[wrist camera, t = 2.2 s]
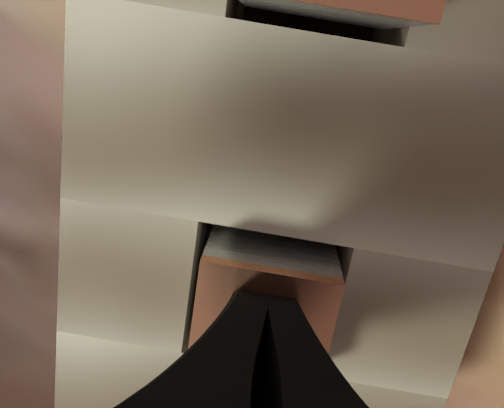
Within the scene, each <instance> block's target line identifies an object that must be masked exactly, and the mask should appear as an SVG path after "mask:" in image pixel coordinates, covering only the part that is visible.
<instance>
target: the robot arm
mask: <svg viewBox="0 0 504 408" xmlns="http://www.w3.org/2000/svg"><path fill="white" fill-rule="evenodd" d="M113 408H369V407H368V406H367V405H366V404H365V402H364V401H363V400H362V399H361V398H360V397H359V395H358V394H357V393H356V392H355V390H354V389H353V388H352V387H351V385H350V384H349V383H348V381H347V380H346V379H345V377H344V376H343V375H342V373H341V372H340V371H339V369H338V368H337V366H336V365H335V363H334V362H333V360H332V359H331V357H330V356H329V354H328V353H327V351H326V350H325V348H324V347H323V345H322V344H321V342H320V340H319V339H318V337H317V335H316V334H315V332H314V330H313V329H312V327H311V325H310V323H309V322H308V320H307V318H306V316H305V314H304V312H303V311H302V309H301V307H300V305H299V303H298V302H297V300H296V299H294V298H288V297H283V296H277V295H271V294H265V293H259V292H253V291H248V290H242V289H238V290H236V291H235V292H233V293H232V296H231V298H230V300H229V301H228V303H227V304H226V306H225V307H224V309H223V310H222V312H221V313H220V314H219V316H218V317H217V318H216V319H215V320H214V322H213V323H212V324H211V325H210V326H209V327H208V329H207V330H206V331H205V332H204V333H203V334H202V336H201V337H200V338H199V339H198V340H197V341H196V342H195V343H194V344H193V345H192V346H191V347H190V348H189V349H188V350H187V351H186V352H185V353H184V354H182V355H181V356H180V357H179V358H178V359H177V360H176V361H175V362H174V363H173V364H172V365H170V366H169V367H168V368H167V369H166V370H165V371H163V372H162V373H161V374H160V375H158V376H157V377H156V378H155V379H153V380H152V381H151V382H149V383H148V384H147V385H145V386H144V387H143V388H141V389H140V390H138V391H137V392H135V393H134V394H133V395H131V396H130V397H128V398H127V399H125V400H124V401H122V402H121V403H120V404H118V405H116V406H115V407H113Z"/></svg>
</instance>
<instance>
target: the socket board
mask: <svg viewBox="0 0 504 408" xmlns="http://www.w3.org/2000/svg"><path fill="white" fill-rule="evenodd" d="M243 11H244V5H243V4H242V3H241V2H240V1H239V0H66V16H65V52H64V88H63V124H62V160H61V196H60V232H59V268H58V304H57V340H56V376H55V408H113V407H115V406H116V405H118V404H120V403H121V402H122V401H124V400H125V399H127V398H128V397H130V396H131V395H133V394H134V393H135V392H137V391H138V390H140V389H141V388H143V387H144V386H145V385H147V384H148V383H149V382H151V381H152V380H153V379H155V378H156V377H157V376H158V375H160V374H161V373H162V372H163V371H165V370H166V369H167V368H168V367H169V366H170V365H172V364H173V363H174V362H175V361H176V360H177V359H178V358H179V357H180V356H181V355H182V354H184V353H185V352H186V351H187V350H188V346H189V338H190V331H191V323H192V316H193V309H194V301H195V294H196V286H197V279H198V272H199V264H200V259H201V257H202V254H203V252H204V249H205V246H206V244H207V241H208V238H209V236H210V233H211V231H212V228H213V224H216V225H222V226H228V227H234V228H239V229H245V230H251V231H257V232H263V233H269V234H274V235H280V236H286V237H292V238H298V239H304V240H309V241H315V242H321V243H327V244H333V245H335V246H336V250H337V254H338V258H339V262H340V266H341V270H342V274H343V279H344V283H345V289H344V293H343V297H342V301H341V305H340V309H339V313H338V317H337V321H336V325H335V329H334V333H333V337H332V341H331V345H330V349H329V353H328V354H329V356H330V357H331V359H332V360H333V362H334V363H335V365H336V366H337V368H338V369H339V371H340V372H341V373H342V375H343V376H344V377H345V379H346V380H347V381H348V383H349V384H350V385H351V387H352V388H353V389H354V390H355V392H356V393H357V394H358V395H359V397H360V398H361V399H362V400H363V401H364V402H365V404H366V405H367V406H368V407H369V408H445V405H446V402H447V399H448V397H449V394H450V391H451V388H452V386H453V383H454V380H455V377H456V375H457V372H458V369H459V366H460V363H461V361H462V358H463V355H464V352H465V350H466V347H467V344H468V341H469V339H470V336H471V333H472V330H473V328H474V325H475V322H476V319H477V316H478V314H479V311H480V308H481V305H482V303H483V300H484V297H485V294H486V292H487V289H488V286H489V283H490V281H491V278H492V275H493V272H494V270H495V267H496V264H497V261H498V258H499V256H500V253H501V250H502V247H503V245H504V0H447V1H446V4H445V8H444V12H443V15H442V19H441V23H440V24H437V25H427V26H417V27H406V28H396V29H386V30H382V29H376V28H374V32H373V36H372V40H371V42H370V41H364V40H358V39H352V38H346V37H340V36H334V35H328V34H323V33H317V32H311V31H305V30H299V29H293V28H287V27H281V26H275V25H269V24H263V23H257V22H251V21H245V20H242V18H243Z"/></svg>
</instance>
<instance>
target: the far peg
mask: <svg viewBox="0 0 504 408" xmlns="http://www.w3.org/2000/svg"><path fill="white" fill-rule="evenodd" d="M238 289H242V290H248V291H253V292H259V293H265V294H271V295H277V296H283V297H288V298H294V299H296V300H297V302H298V303H299V305H300V307H301V309H302V311H303V312H304V314H305V316H306V318H307V320H308V322H309V323H310V325H311V327H312V329H313V330H314V332H315V334H316V335H317V337H318V339H319V340H320V342H321V344H322V345H323V347H324V348H325V350H326V351H327V353H329V349H330V345H331V341H332V337H333V333H334V329H335V325H336V321H337V317H338V313H339V309H340V305H341V301H342V297H343V293H344V289H345V283H344V279H343V274H342V270H341V266H340V262H339V258H338V254H337V250H336V246H335V245H333V244H327V243H321V242H315V241H309V240H304V239H298V238H292V237H286V236H280V235H274V234H269V233H263V232H257V231H251V230H245V229H239V228H234V227H228V226H222V225H216V224H214V225H213V228H212V231H211V233H210V236H209V238H208V241H207V244H206V246H205V249H204V252H203V254H202V257H201V259H200V264H199V272H198V279H197V286H196V294H195V301H194V309H193V316H192V323H191V331H190V338H189V346H188V349H189V348H190V347H191V346H192V345H193V344H194V343H195V342H196V341H197V340H198V339H199V338H200V337H201V336H202V334H203V333H204V332H205V331H206V330H207V329H208V327H209V326H210V325H211V324H212V323H213V322H214V320H215V319H216V318H217V317H218V316H219V314H220V313H221V312H222V310H223V309H224V307H225V306H226V304H227V303H228V301H229V300H230V298H231V296H232V293H233V292H235V291H236V290H238Z"/></svg>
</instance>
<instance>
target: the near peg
mask: <svg viewBox="0 0 504 408" xmlns="http://www.w3.org/2000/svg"><path fill="white" fill-rule="evenodd" d="M239 1H240V2H241V3H242V4H243V5H244V6H246V7H251V8H257V9H263V10H268V11H274V12H280V13H286V14H292V15H298V16H304V17H310V18H316V19H322V20H328V21H334V22H340V23H346V24H352V25H358V26H364V27H370V28H376V29H382V30H386V29H396V28H406V27H417V26H427V25H437V24H440V23H441V19H442V15H443V12H444V8H445V4H446V1H447V0H239Z"/></svg>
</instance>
